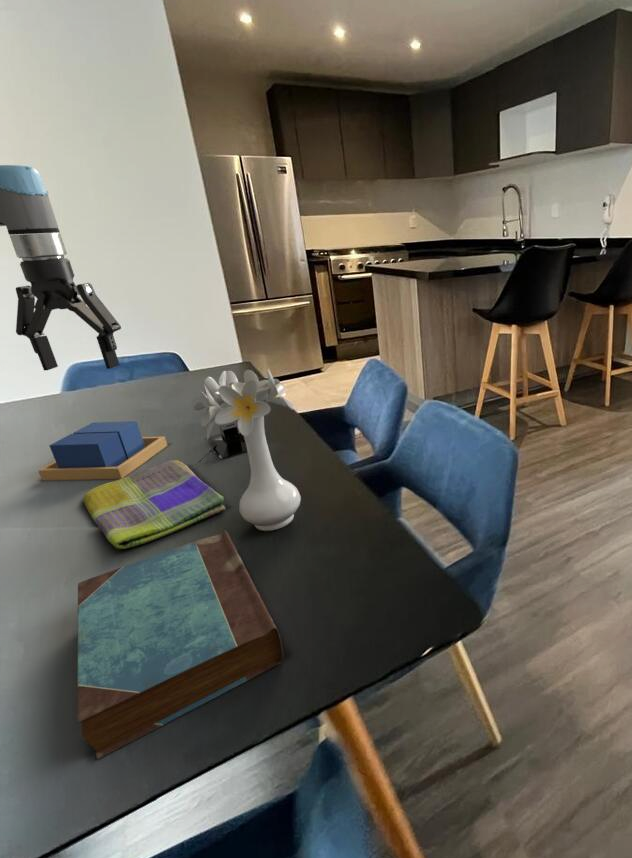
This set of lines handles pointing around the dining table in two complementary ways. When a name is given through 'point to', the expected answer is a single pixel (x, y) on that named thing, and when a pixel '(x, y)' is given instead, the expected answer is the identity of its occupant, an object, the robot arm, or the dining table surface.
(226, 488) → the dining table surface
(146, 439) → the wooden tray
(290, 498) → the flower vase
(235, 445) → the black box
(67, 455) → the pad
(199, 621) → the book
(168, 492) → the dish towel
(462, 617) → the dining table surface
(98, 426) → the pad
